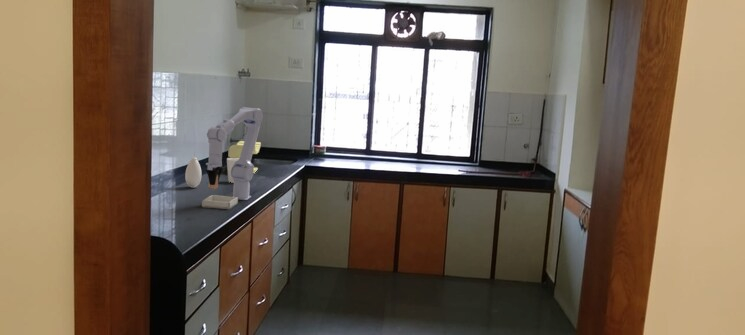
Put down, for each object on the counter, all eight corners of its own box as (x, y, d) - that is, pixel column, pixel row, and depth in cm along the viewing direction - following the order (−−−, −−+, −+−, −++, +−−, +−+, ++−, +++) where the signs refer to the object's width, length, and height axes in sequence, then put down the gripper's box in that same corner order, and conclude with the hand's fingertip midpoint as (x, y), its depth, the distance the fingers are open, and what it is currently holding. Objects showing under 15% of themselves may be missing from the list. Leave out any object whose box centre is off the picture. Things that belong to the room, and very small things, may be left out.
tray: (211, 201, 263) (212, 194, 262) (237, 203, 263) (238, 197, 262) (202, 207, 249) (202, 200, 249) (229, 209, 249) (229, 202, 248)
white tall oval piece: (196, 189, 288) (197, 154, 286) (181, 187, 290) (183, 152, 288) (203, 187, 296) (205, 153, 294) (189, 185, 297) (191, 151, 295)
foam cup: (222, 181, 321) (223, 158, 319) (237, 180, 327) (238, 157, 325) (231, 183, 314) (232, 160, 312) (245, 183, 320) (247, 160, 319)
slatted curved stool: (235, 167, 380) (236, 140, 378) (259, 168, 382) (260, 142, 380) (227, 173, 351) (228, 144, 348) (253, 175, 352) (255, 146, 350)
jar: (210, 187, 260) (211, 172, 259) (219, 187, 259) (219, 173, 258) (207, 188, 256) (207, 173, 255) (215, 189, 255) (216, 174, 254)
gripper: (211, 151, 263) (210, 180, 264) (201, 154, 248) (199, 185, 250) (227, 153, 263) (225, 182, 264) (217, 156, 248) (215, 187, 250)
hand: (213, 184), depth 257 cm, fingers closed on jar, 4 cm apart
